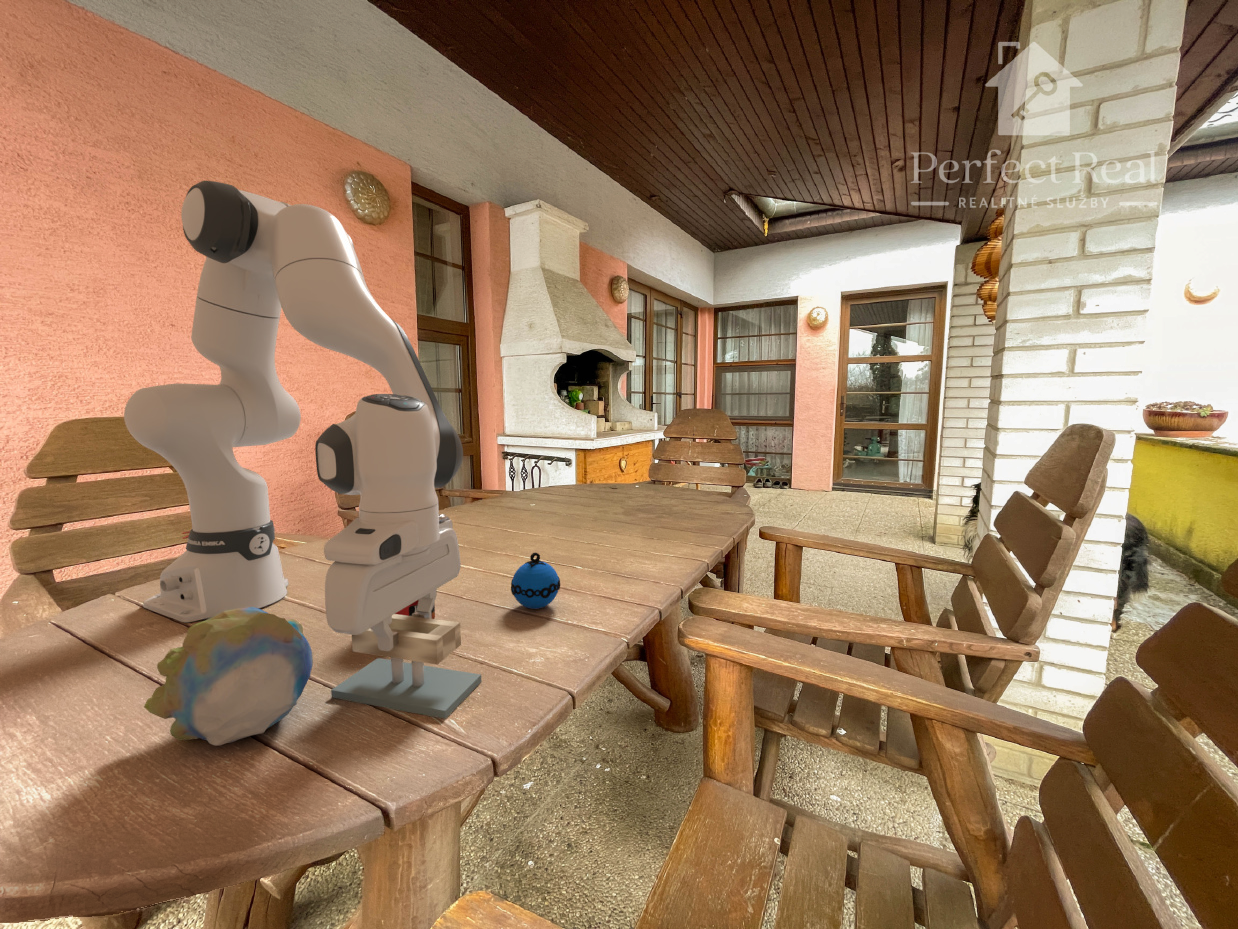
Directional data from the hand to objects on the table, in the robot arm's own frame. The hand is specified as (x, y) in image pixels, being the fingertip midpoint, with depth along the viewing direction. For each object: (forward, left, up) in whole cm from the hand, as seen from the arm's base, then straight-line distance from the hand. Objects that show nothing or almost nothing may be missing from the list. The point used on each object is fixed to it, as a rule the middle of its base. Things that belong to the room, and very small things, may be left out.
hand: (406, 636), depth 63 cm
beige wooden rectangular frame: (0, 0, -2) cm, 2 cm away
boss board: (0, 0, -7) cm, 7 cm away
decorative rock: (-14, -11, -7) cm, 19 cm away
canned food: (-12, +16, -7) cm, 21 cm away
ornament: (+5, +28, -7) cm, 29 cm away
